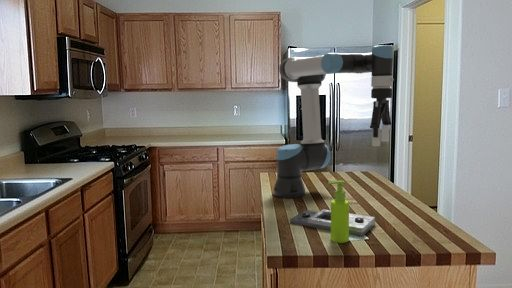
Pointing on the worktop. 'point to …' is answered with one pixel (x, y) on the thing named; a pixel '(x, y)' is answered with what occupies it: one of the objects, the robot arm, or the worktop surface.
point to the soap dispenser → (339, 214)
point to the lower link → (305, 215)
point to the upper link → (356, 222)
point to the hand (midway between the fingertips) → (380, 143)
